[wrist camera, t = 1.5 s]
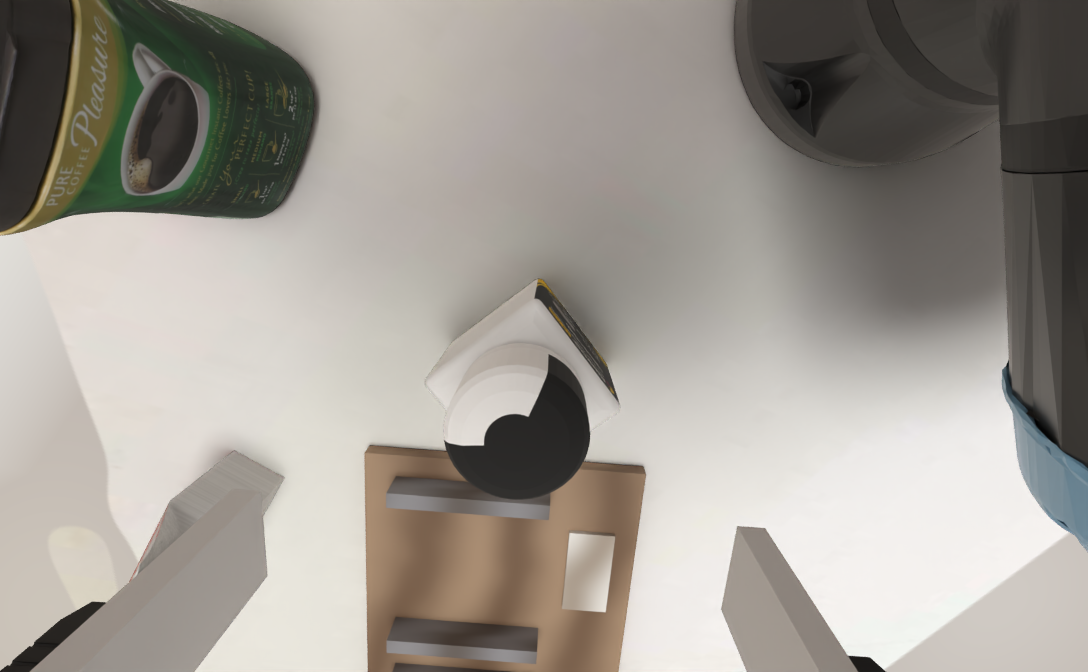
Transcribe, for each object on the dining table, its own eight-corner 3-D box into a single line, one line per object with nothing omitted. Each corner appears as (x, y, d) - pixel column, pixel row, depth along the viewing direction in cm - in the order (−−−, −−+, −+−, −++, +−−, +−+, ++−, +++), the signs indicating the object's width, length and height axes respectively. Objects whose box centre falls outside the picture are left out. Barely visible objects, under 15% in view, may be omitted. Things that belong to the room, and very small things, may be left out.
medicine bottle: (609, 366, 32) (640, 460, 20) (518, 429, 33) (500, 551, 22) (540, 275, 31) (532, 320, 19) (448, 343, 32) (388, 425, 20)
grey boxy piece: (284, 477, 34) (180, 585, 25) (244, 550, 36) (130, 678, 26) (234, 450, 34) (108, 549, 24) (195, 524, 36) (61, 645, 26)
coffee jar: (199, 5, 27) (-481, -369, 9) (337, 77, 28) (-43, -141, 10) (150, 176, 30) (-469, 138, 12) (280, 238, 30) (-114, 292, 12)
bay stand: (643, 466, 34) (651, 491, 31) (596, 801, 41) (600, 846, 38) (369, 445, 34) (352, 468, 31) (374, 784, 41) (360, 828, 38)
